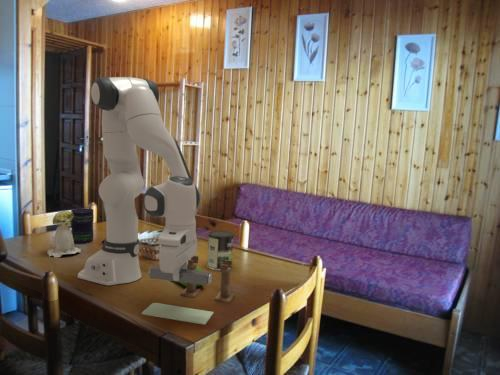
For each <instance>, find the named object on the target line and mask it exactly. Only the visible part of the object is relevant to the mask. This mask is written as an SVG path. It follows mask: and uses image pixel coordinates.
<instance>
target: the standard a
mask: <svg viewBox="0 0 500 375" xmlns="http://www.w3.org/2000/svg"><path fill="white" fill-rule="evenodd" d="M198 264H199V256H198V255H194V256H193V257H192V258H190V259H189V260H188V265H187V269H190V270H196V267H198V266H197V265H198ZM201 292H202V289H201V288H199V287H196V284H193V283H187V287H186V286H185V289H183V290H182V291H181V292H180V296H182V297H189V298H196V297H197V296H198V295H199V293H201Z"/></svg>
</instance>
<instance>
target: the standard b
mask: <svg viewBox="0 0 500 375" xmlns="http://www.w3.org/2000/svg"><path fill="white" fill-rule="evenodd" d="M232 267H233V259H232V260H225V264H221V266H220V273H221V276H220V278H221V279H220V291H219V292H218V294H217V295H216V296H215V298H214V301H215V302H222V303H228V304H230V303H231V301H232V300H233V299H234V297H235V293H231V292H230V287H231V270H232ZM228 268H231V269H228Z"/></svg>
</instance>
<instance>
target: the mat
mask: <svg viewBox="0 0 500 375" xmlns="http://www.w3.org/2000/svg"><path fill="white" fill-rule="evenodd" d="M141 315H145V316H149V317H156V318H162V319H167V320H175V321H180V322H186V323H190V324H192V323H193V324H198V325H206V324H207V323H208V321H210V319H211V317H212V316H213V315H214V311H208V310H203V309H197V308H190V307H184V306H177V305H173V304H172V305H171V304H166V303H165V304H164V303H160V302H152V303H151V304H150V305H149V306H147V308H145V309H144V310H143V311H142V312H141Z"/></svg>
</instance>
